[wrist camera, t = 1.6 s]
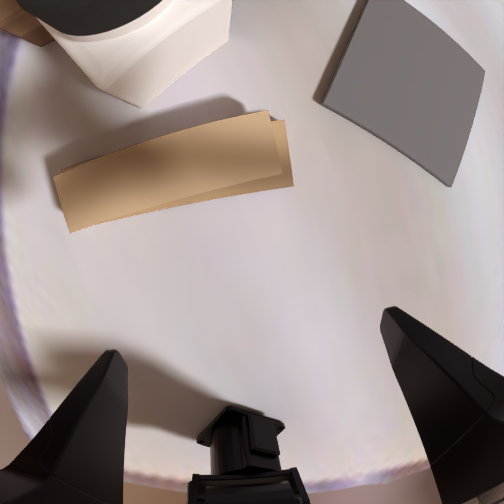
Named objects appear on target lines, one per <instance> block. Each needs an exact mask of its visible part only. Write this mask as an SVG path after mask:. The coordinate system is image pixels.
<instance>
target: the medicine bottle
mask: <svg viewBox="0 0 504 504" xmlns="http://www.w3.org/2000/svg"><path fill="white" fill-rule="evenodd" d="M16 1H17V3H18V5H19V6H20V7H21V8H22V9H23V10H25V11H27V12H28V13H30V14H32V15H33V16H35V17H36V18H37V19H38V20H39V22H40V23H41V24H42V25H43V26H44V27H45V28H46V30H47V31H48V32H49V33H50V34H51V35H52V36H53V38H54V39H55V40H56V41H57V42H58V43H59V44H60V46H61V47H62V48H63V49H64V50H65V51H66V52H67V54H68V55H69V56H70V57H71V58H72V59H73V60H74V62H75V63H76V64H77V65H78V66H79V67H80V68H81V70H82V71H83V72H84V73H85V74H86V75H87V76H88V77H89V79H90V80H91V81H92V82H93V83H94V84H95V85H96V87H97V88H99V89H100V90H102V91H104V92H107V93H109V94H111V95H113V96H115V97H117V98H119V99H121V100H123V101H125V102H128V103H130V104H132V105H134V106H136V107H138V108H143V107H145V106H146V105H147V104H149V103H150V102H151V101H152V100H153V99H154V98H155V97H156V96H158V95H159V94H160V93H161V92H162V91H163V90H164V89H166V88H167V87H168V86H169V85H170V84H172V83H173V82H174V81H175V80H176V79H178V78H179V77H180V76H181V75H183V74H184V73H185V72H186V71H188V70H189V69H190V68H192V67H193V66H194V65H195V64H197V63H198V62H199V61H201V60H202V59H203V58H205V57H206V56H208V55H209V54H210V53H212V52H213V51H214V50H216V49H217V48H219V47H220V46H222V45H223V44H224V43H226V42H227V41H228V40H229V31H230V21H231V11H232V1H233V0H16Z"/></svg>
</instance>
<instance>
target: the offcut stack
mask: <svg viewBox="0 0 504 504" xmlns="http://www.w3.org/2000/svg"><path fill="white" fill-rule="evenodd" d="M61 171H62V173H61V174H59V175H57V176H54V177H53V179H54V182H55V186H56V190H57V193H58V197H59V200H60V204H61V207H62V210H63V214H64V217H65V220H66V223H67V226H68V229H69V232H70V233H72V232H75V231H78V230H81V229H83V228H86V227H89V226H92V225H96V224H100V223H104V222H108V221H112V220H117V219H121V218H125V217H130V216H134V215H139V214H143V213H148V212H152V211H157V210H162V209H167V208H171V207H176V206H181V205H186V204H191V203H197V202H202V201H207V200H213V199H218V198H224V197H229V196H235V195H241V194H247V193H253V192H259V191H265V190H271V189H278V188H284V187H291V186H294V185H293V177H292V169H291V162H290V155H289V148H288V141H287V134H286V128H285V121H284V120H278V121H271V119H270V115H269V111H268V110H266V111H261V112H256V113H251V114H246V115H241V116H237V117H232V118H228V119H223V120H219V121H215V122H211V123H207V124H203V125H199V126H195V127H192V128H188V129H184V130H181V131H177V132H174V133H170V134H167V135H164V136H160V137H157V138H154V139H151V140H148V141H145V142H142V143H139V144H136V145H133V146H130V147H127V148H124V149H121V150H118V151H116V152H113V153H110V154H108V155H105V156H101V157H98V158H95V159H91V160H88V161H85V162H82V163H79V164H76V165H73V166H70V167H67V168H64V169H61Z"/></svg>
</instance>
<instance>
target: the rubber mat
mask: <svg viewBox="0 0 504 504" xmlns="http://www.w3.org/2000/svg"><path fill="white" fill-rule="evenodd" d="M484 75H485V70H484V69H483V68H482V67H481V66H480V65H479V64H478V63H477V62H476V61H475V60H474V59H473V58H472V57H471V56H470V55H469V54H468V53H467V52H466V51H465V50H464V49H463V48H462V47H461V46H460V45H459V44H458V43H456V42H455V41H454V40H453V39H452V38H451V37H450V36H449V35H448V34H446V33H445V32H444V31H443V30H442V29H441V28H439V27H438V26H437V25H436V24H435V23H433V22H432V21H431V20H430V19H428V18H427V17H426V16H425V15H423V14H422V13H421V12H419V11H418V10H417V9H415V8H414V7H413V6H411V5H410V4H409V3H407V2H406V1H404V0H367V1H366V3H365V6H364V8H363V10H362V12H361V15H360V17H359V19H358V21H357V24H356V26H355V28H354V31H353V33H352V35H351V37H350V40H349V42H348V44H347V46H346V49H345V51H344V53H343V55H342V58H341V60H340V62H339V65H338V67H337V69H336V71H335V74H334V76H333V78H332V80H331V83H330V85H329V87H328V89H327V92H326V94H325V96H324V98H323V101H322V103H321V105H322V106H324V107H326V108H327V109H329V110H331V111H333V112H335V113H337V114H339V115H340V116H342V117H344V118H346V119H347V120H349V121H351V122H353V123H354V124H356V125H358V126H359V127H361V128H363V129H364V130H366V131H368V132H369V133H371V134H373V135H374V136H376V137H377V138H379V139H381V140H382V141H384V142H385V143H387V144H388V145H390V146H391V147H393V148H395V149H396V150H398V151H399V152H400V153H402V154H403V155H405V156H406V157H408V158H409V159H411V160H412V161H413V162H415V163H416V164H418V165H419V166H420V167H422V168H423V169H425V170H426V171H427V172H429V173H430V174H431V175H433V176H434V177H435V178H437V179H438V180H439V181H440V182H442V183H443V184H444V185H446V186H447V187H452V184H453V182H454V179H455V176H456V173H457V171H458V168H459V165H460V162H461V159H462V156H463V153H464V150H465V147H466V144H467V141H468V138H469V135H470V131H471V128H472V124H473V121H474V117H475V113H476V110H477V106H478V102H479V98H480V93H481V89H482V84H483V80H484Z"/></svg>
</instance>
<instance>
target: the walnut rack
mask: <svg viewBox="0 0 504 504" xmlns="http://www.w3.org/2000/svg"><path fill="white" fill-rule="evenodd" d="M0 28H1V29H3V30H5V31H7V32H10V33H12V34H14V35H16V36H19V37H21V38H23V39H25V40H27V41H29V42H31V43H34V44H36V45H38V46H40V47H42V46H44V45H46V44H48V43H50V42H52V41H54V40H55V39H54V38H53V36H52V35H51V34H50V33H49V32H48V31H47V30H46V28H45V27H44V26H43V25H42V24H41V23H40V22H39V20H38V19H37V18H36V17H35V16H33V15H32V14H30V13H28V12H27V11H25V10H23V9H22V8H21V7H20V6H19V5H18V3H17V1H16V0H0Z"/></svg>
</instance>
